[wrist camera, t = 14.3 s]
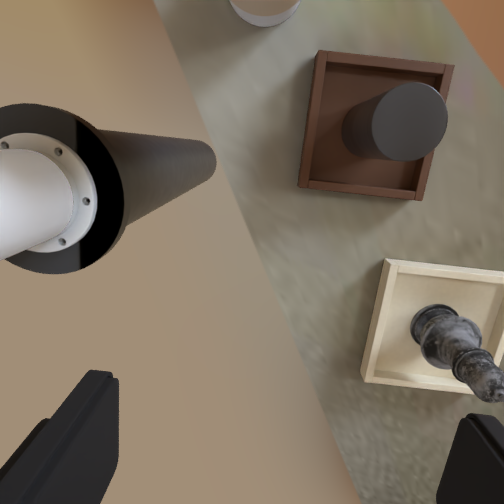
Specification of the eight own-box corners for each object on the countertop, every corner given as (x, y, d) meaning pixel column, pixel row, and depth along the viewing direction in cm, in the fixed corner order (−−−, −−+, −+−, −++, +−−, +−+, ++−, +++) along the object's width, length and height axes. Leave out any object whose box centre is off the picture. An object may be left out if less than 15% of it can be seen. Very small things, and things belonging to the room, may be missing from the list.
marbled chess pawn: (474, 325, 39) (563, 401, 27) (431, 360, 40) (498, 446, 29) (439, 290, 38) (515, 353, 26) (395, 327, 39) (450, 402, 28)
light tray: (359, 371, 41) (364, 382, 39) (384, 258, 38) (390, 264, 36) (478, 384, 41) (488, 396, 39) (515, 272, 38) (528, 279, 36)
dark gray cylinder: (337, 154, 34) (364, 157, 25) (346, 98, 33) (379, 77, 23) (389, 160, 34) (437, 165, 25) (401, 104, 33) (456, 86, 23)
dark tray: (297, 185, 36) (299, 187, 34) (315, 55, 33) (318, 49, 31) (414, 198, 36) (422, 201, 34) (443, 69, 33) (455, 64, 31)
